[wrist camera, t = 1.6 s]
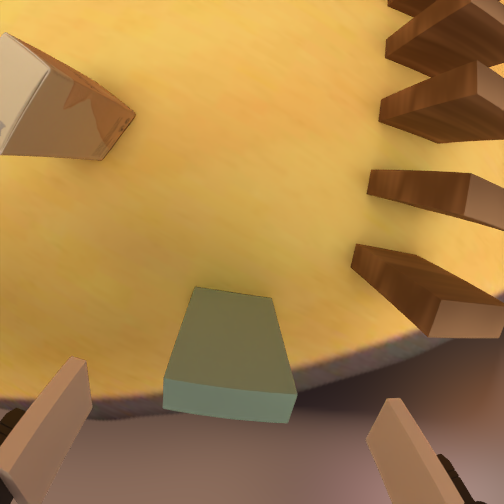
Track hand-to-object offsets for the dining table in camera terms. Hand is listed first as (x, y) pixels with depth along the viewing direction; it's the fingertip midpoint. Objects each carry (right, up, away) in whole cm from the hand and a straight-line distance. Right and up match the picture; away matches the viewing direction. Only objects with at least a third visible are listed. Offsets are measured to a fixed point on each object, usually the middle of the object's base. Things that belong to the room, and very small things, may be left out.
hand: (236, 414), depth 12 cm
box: (-11, +16, +8) cm, 21 cm away
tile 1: (+11, +6, +11) cm, 17 cm away
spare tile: (-1, +3, +11) cm, 12 cm away
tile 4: (+14, +22, +7) cm, 27 cm away
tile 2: (+12, +11, +10) cm, 19 cm away
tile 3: (+13, +17, +8) cm, 23 cm away
